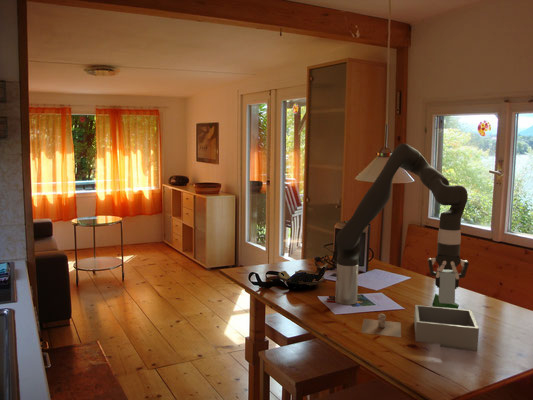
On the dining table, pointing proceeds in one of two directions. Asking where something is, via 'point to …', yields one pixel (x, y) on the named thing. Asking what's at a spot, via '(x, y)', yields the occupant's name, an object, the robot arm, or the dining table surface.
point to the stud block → (381, 327)
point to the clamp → (444, 305)
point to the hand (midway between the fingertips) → (446, 287)
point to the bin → (446, 327)
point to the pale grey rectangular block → (447, 287)
